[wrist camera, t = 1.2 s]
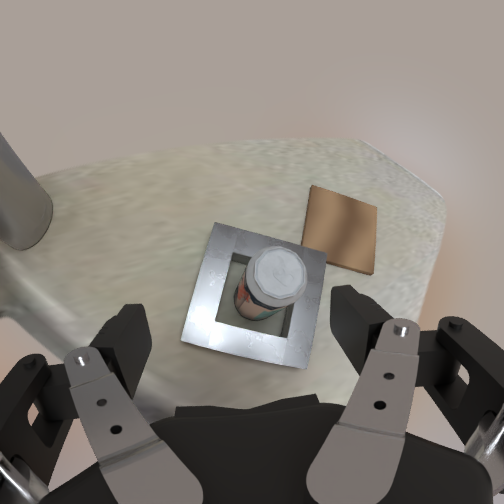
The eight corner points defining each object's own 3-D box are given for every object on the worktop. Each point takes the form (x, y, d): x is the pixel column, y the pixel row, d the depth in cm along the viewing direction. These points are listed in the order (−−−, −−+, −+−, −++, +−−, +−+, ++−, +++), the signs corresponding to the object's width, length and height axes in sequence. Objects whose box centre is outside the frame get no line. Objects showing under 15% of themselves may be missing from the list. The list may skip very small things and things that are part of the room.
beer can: (252, 270, 33) (274, 229, 22) (284, 297, 33) (323, 269, 22) (224, 302, 32) (233, 275, 21) (258, 329, 31) (286, 318, 20)
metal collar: (183, 341, 30) (180, 340, 27) (214, 232, 34) (214, 222, 31) (298, 367, 30) (306, 369, 28) (318, 260, 35) (327, 253, 32)
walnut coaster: (299, 255, 35) (301, 253, 34) (310, 187, 38) (312, 184, 38) (370, 275, 35) (373, 273, 35) (374, 209, 39) (376, 207, 38)
